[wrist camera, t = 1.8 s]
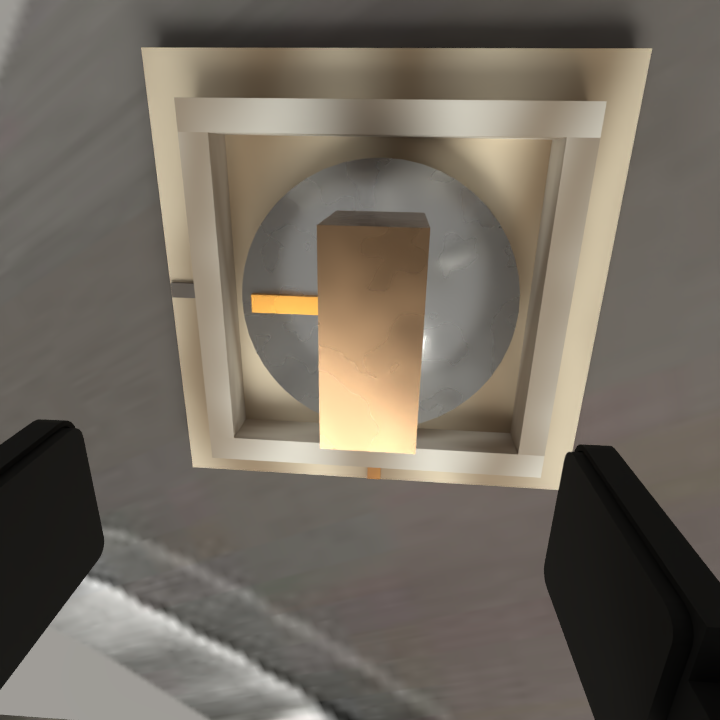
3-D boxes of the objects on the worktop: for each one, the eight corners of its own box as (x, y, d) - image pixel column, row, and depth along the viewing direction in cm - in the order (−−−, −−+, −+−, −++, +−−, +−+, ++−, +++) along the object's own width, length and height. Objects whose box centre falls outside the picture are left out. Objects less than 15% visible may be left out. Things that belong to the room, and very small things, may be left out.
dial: (530, 160, 21) (585, 160, 14) (496, 420, 25) (527, 507, 19) (242, 155, 21) (175, 152, 15) (259, 407, 26) (212, 486, 20)
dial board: (635, 56, 20) (678, 36, 17) (556, 473, 28) (576, 515, 25) (158, 54, 22) (115, 36, 19) (203, 452, 29) (177, 488, 26)
